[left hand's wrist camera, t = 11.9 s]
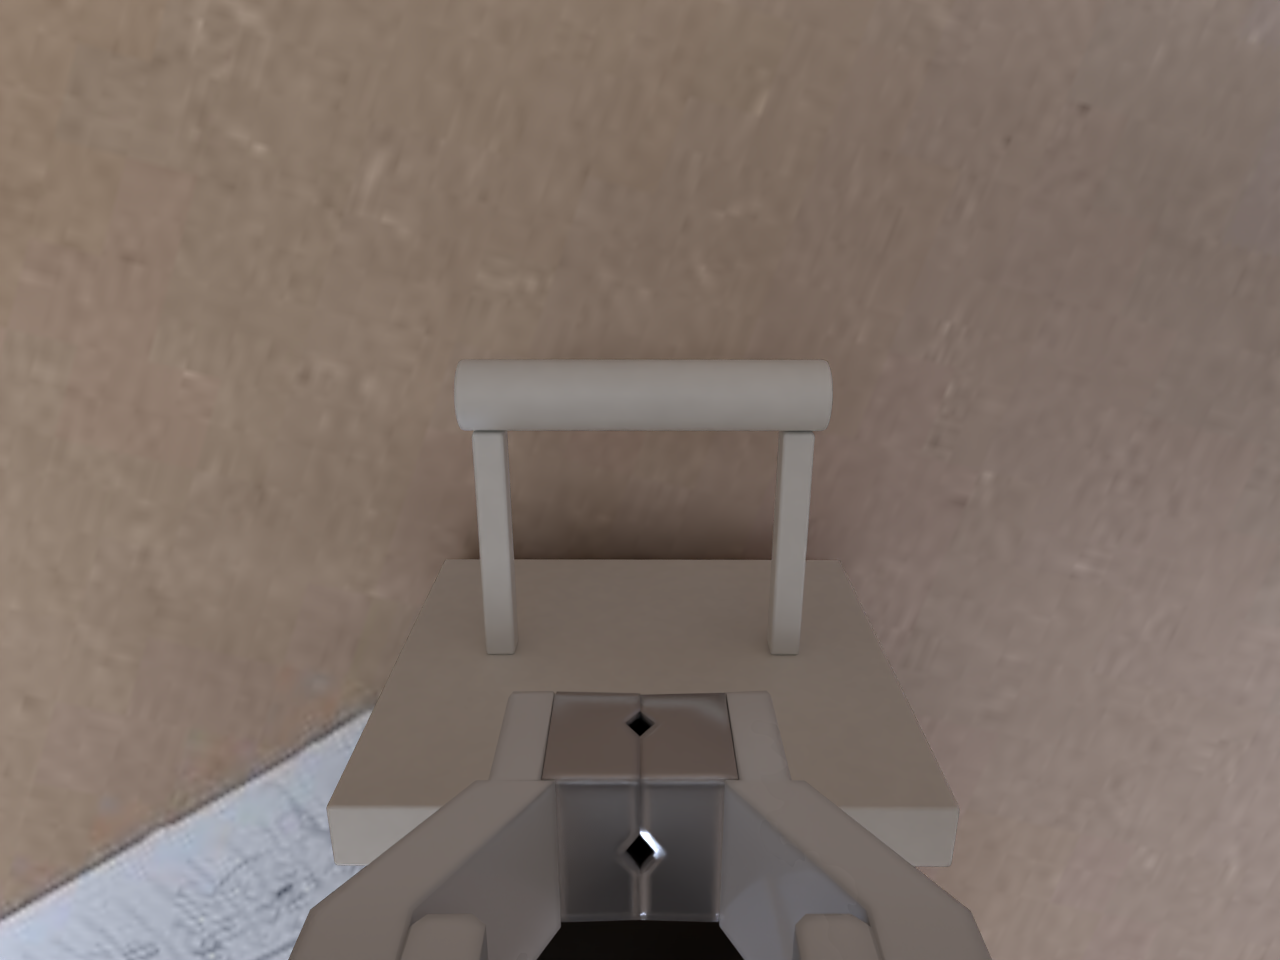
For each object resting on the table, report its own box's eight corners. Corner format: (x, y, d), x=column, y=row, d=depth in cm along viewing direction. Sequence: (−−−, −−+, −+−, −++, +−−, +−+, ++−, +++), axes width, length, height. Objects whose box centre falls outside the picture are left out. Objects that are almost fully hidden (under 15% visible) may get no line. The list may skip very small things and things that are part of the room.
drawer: (424, 318, 20) (268, 439, 12) (861, 318, 20) (1019, 440, 12) (483, 1029, 28) (415, 1411, 20) (798, 1030, 28) (867, 1412, 20)
